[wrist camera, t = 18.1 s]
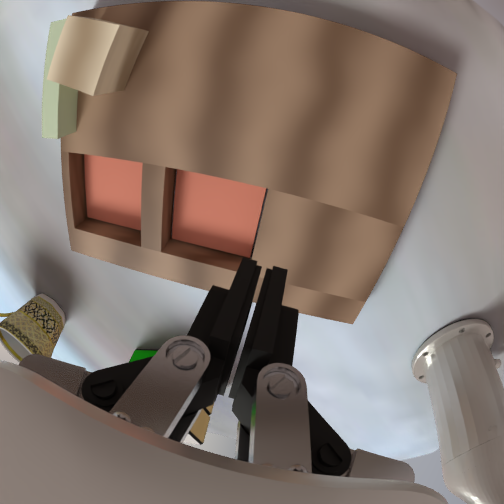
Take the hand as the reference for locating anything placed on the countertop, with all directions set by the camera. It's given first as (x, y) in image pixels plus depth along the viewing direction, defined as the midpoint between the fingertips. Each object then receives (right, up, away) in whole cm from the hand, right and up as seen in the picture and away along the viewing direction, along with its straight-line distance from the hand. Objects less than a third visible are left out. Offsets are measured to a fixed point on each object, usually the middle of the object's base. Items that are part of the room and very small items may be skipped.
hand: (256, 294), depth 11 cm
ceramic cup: (-34, -7, +28) cm, 44 cm away
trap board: (-2, +9, +12) cm, 15 cm away
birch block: (-11, +17, +5) cm, 21 cm away
